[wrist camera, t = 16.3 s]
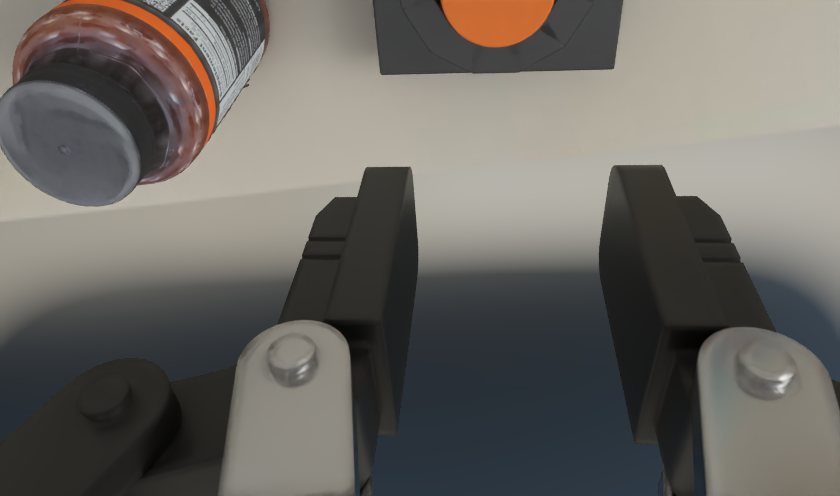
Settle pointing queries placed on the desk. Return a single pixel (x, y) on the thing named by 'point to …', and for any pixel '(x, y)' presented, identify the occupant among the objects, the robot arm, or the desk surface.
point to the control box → (451, 53)
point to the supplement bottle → (125, 91)
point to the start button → (496, 19)
